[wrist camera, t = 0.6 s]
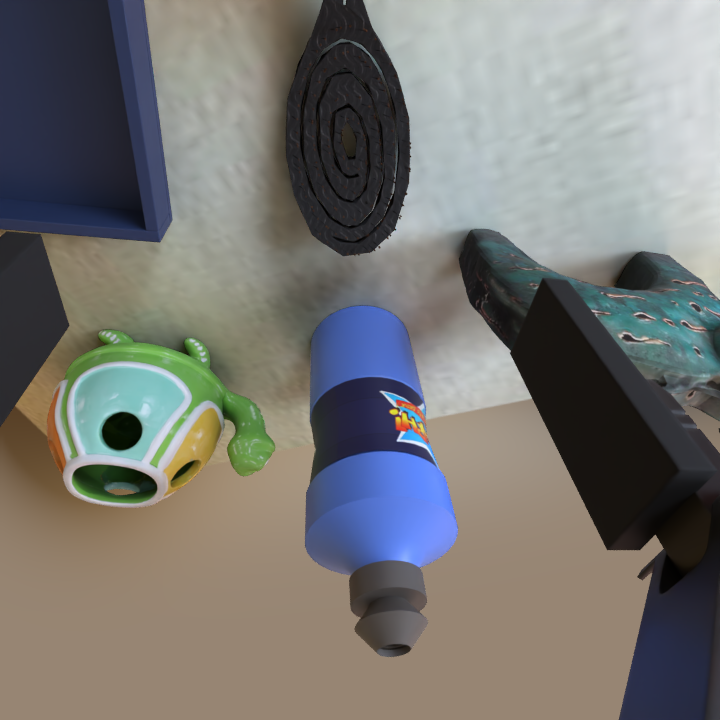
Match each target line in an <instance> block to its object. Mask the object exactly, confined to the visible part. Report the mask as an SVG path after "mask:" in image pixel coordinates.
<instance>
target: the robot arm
mask: <svg viewBox="0 0 720 720" xmlns="http://www.w3.org/2000/svg"><path fill="white" fill-rule="evenodd" d="M68 327H69V323H68V320H67V316H66V313H65V310H64V307H63V304H62V301H61V297H60V294H59V291H58V288H57V285H56V281H55V278H54V275H53V272H52V269H51V265H50V262H49V259H48V256H47V253H46V250H45V246H44V243H43V240H42V237H41V234H30V233H19V232H5V233H4V234H3V235H2V236H1V237H0V426H1V425H2V424H3V422H4V421H5V419H6V418H7V416H8V415H9V414H10V412H11V411H12V409H13V408H14V406H15V405H16V403H17V402H18V400H19V399H20V397H21V396H22V394H23V393H24V392H25V390H26V389H27V387H28V386H29V384H30V383H31V381H32V380H33V378H34V377H35V375H36V374H37V372H38V371H39V370H40V368H41V367H42V365H43V364H44V362H45V361H46V359H47V358H48V356H49V355H50V353H51V352H52V350H53V349H54V348H55V346H56V345H57V343H58V342H59V340H60V339H61V337H62V336H63V334H64V333H65V331H66V330H67V328H68ZM510 354H511V356H512V358H513V360H514V362H515V364H516V366H517V368H518V370H519V372H520V374H521V376H522V378H523V380H524V382H525V384H526V386H527V388H528V390H529V392H530V395H531V397H532V399H533V401H534V403H535V405H536V407H537V409H538V411H539V413H540V415H541V417H542V419H543V421H544V423H545V425H546V427H547V429H548V431H549V433H550V435H551V437H552V439H553V441H554V443H555V445H556V447H557V449H558V451H559V453H560V455H561V457H562V459H563V461H564V463H565V465H566V467H567V470H568V471H569V474H570V476H571V478H572V480H573V482H574V484H575V486H576V487H577V490H578V492H579V494H580V496H581V498H582V500H583V502H584V504H585V506H586V508H587V510H588V512H589V514H590V516H591V518H592V520H593V522H594V524H595V526H596V528H597V530H598V532H599V534H600V536H601V538H602V540H603V542H604V545H605V546H606V548H607V550H640V549H641V548H642V547H643V546H644V545H645V544H646V543H647V542H648V541H649V540H650V539H651V538H652V537H653V536H654V535H655V534H656V536H657V538H658V539H659V541H660V543H661V544H662V546H663V548H664V549H663V550H662V551H661V552H660V553H659V554H658V555H657V556H656V557H655V558H654V559H653V560H652V561H651V562H650V563H648V564H647V565H646V566H645V567H644V568H643V569H642V570H641V572H640V573H639V575H638V578H639V579H641V580H643V579H644V578H645V577H647V576H648V575H649V574H650V573H652V577H651V582H650V586H649V590H648V594H647V599H646V603H645V608H644V612H643V616H642V621H641V625H640V629H639V634H638V638H637V643H636V647H635V651H634V656H633V660H632V664H631V669H630V673H629V677H628V682H627V686H626V691H625V695H624V699H623V704H622V708H621V712H620V717H619V720H720V453H719V452H718V451H717V449H716V448H715V447H714V446H713V445H712V443H711V442H710V441H709V440H708V439H707V437H706V436H705V435H704V434H703V432H702V431H701V430H700V429H697V428H696V426H697V425H696V424H695V423H694V421H693V420H692V419H691V418H690V417H689V415H685V410H684V409H683V408H682V407H681V406H680V404H679V403H678V402H677V401H676V399H675V398H674V397H673V396H672V395H671V394H670V393H669V392H667V391H666V390H665V389H664V388H662V387H661V386H660V385H658V384H657V383H656V382H654V381H653V380H649V379H645V378H644V376H643V375H642V374H641V373H640V371H639V370H638V369H637V367H636V366H635V365H634V364H633V362H632V361H631V360H630V359H629V357H628V356H627V355H626V353H625V352H624V351H623V350H622V348H621V347H620V346H619V345H618V343H617V342H616V341H615V340H614V338H613V337H612V336H611V334H610V333H609V332H608V331H607V329H606V328H605V327H604V326H603V324H602V323H601V322H600V320H599V319H598V318H597V317H596V315H595V314H594V313H593V312H592V310H591V309H590V308H589V307H588V305H587V304H586V303H585V301H584V300H583V299H582V298H581V296H580V295H579V294H578V293H577V291H576V290H575V289H574V287H573V286H572V285H571V284H570V282H569V281H568V280H563V279H551V278H542V280H541V282H540V285H539V287H538V289H537V292H536V294H535V296H534V299H533V301H532V303H531V306H530V308H529V310H528V313H527V315H526V317H525V320H524V322H523V324H522V327H521V329H520V331H519V334H518V336H517V338H516V341H515V343H514V345H513V348H512V350H511V352H510Z"/></svg>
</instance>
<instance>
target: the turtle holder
mask: <svg viewBox="0 0 720 720" xmlns="http://www.w3.org/2000/svg"><path fill="white" fill-rule="evenodd" d="M98 337H99V339H100V340H101V341H102V342H103V343H105V344H106V345H104V346H101V347H98V348H96V349H93V350H91V351H89V352H87V353H85V354H83V355H81V356H79V357H78V358H77V359H76V360H74V361H73V363H72V364H71V365H70V366H69V368H68V370H67V372H66V375H65V378H64V380H62V381H61V382H60V383H59V384H58V385H57V386H56V388H55V390H54V392H53V395H52V403H51V406H50V410H49V414H48V419H47V435H48V443H49V448H50V450H51V453H52V455H53V458H54V460H55V463H56V465H57V467H58V469H59V470H60V472H61V474H62V476H63V480H64V483H65V486H66V488H67V490H68V491H69V492H70V493H71V494H72V495H73V496H75V497H77V498H79V499H81V500H84V501H87V502H90V503H95V504H100V505H106V506H112V507H129V508H137V507H146V506H151V505H154V504H155V503H157V502H159V501H160V500H163V499H165V498H167V497H169V496H170V495H171V494H173V493H174V492H175V491H177V490H178V489H179V488H181V487H183V486H184V485H185V484H187V483H188V482H189V481H191V480H192V479H193V478H194V477H195V476H196V475H197V474H198V473H199V472H200V471H201V469H202V468H203V467H204V466H205V465H206V463H207V462H208V460H209V459H210V457H211V455H212V454H213V452H214V450H215V448H216V446H217V444H218V443H219V441H220V439H221V437H222V434H223V431H224V426H225V424H224V419H227V420H230V421H232V422H233V424H234V425H235V429H236V433H235V435H234V437H233V438H232V439H231V441H230V442H229V444H228V447H227V452H228V455H229V458H230V462H231V464H232V466H233V468H234V469H235V470H236V472H237V473H238V474H239V475H241V476H248V475H251V474H253V473H254V472H255V471H259V470H261V469H262V468H263V467H264V466H265V465H266V464H267V463H268V461H269V458H270V457H271V455H272V453H273V452H274V451H275V444H274V442H273V440H272V439H271V438H270V437H269V436H268V435H267V434H266V431H265V423H264V420H263V416H262V415H261V412H260V410H259V408H258V407H257V405H256V404H255V403H253V402H252V401H251V400H250V399H248V398H246V397H243V396H240V395H237V394H234V393H232V392H230V391H229V390H228V389H227V388H226V387H225V386H224V385H223V383H222V382H221V381H220V380H219V379H218V378H217V376H216V375H215V374H214V373H213V372H212V371H211V370H209V369H210V357H209V352H208V350H207V348H206V346H205V345H204V344H203V343H202V342H200V341H199V340H197V339H194V338H186V339H185V341H184V346H185V349H186V351H187V352H188V355H189V356H188V355H186V354H183V353H181V352H178V351H175V350H173V349H169V348H166V347H163V346H159V345H153V344H148V343H138V342H134V340H133V339H132V338H131V337H129V336H128V335H126V334H125V333H122V332H120V331H116V330H102V331H100V332H99V334H98ZM112 489H126V490H132V491H134V492H136V493H134V494H128V495H115V494H112V493H109V492H107V490H112Z"/></svg>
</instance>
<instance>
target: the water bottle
mask: <svg viewBox="0 0 720 720" xmlns="http://www.w3.org/2000/svg"><path fill="white" fill-rule="evenodd" d="M310 423H311V427H312V433H313V439H314V445H315V453H314V460H313V467H312V473H311V480H310V485H309V487H308V490H307V492H306V525H305V547H306V550H307V552H308V554H309V555H310V557H311V558H312V559H313V560H314V561H315V562H317V563H318V564H319V565H321V566H323V567H325V568H327V569H329V570H331V571H335V572H338V573H341V574H346V575H351V577H350V580H349V586H350V605H351V611H352V612H353V613H354V614H355V615H356V616H358V617H361V619H360V620H359V621H358V623H357V624H356V626H355V632H356V633H357V634H358V635H359V636H360V637H361V638H362V639H363V640H364V641H365V642H366V643H367V644H368V645H369V646H370V647H371V648H373V650H374V651H375V652H377V653H378V654H379V655H381V656H386V657H394V656H400V655H403V654H406V653H408V652H409V651H410V650H411V649H412V647H413V646H414V644H415V643H416V641H417V640H418V638H419V637H420V635H421V634H422V632H423V631H424V629H425V628H426V626H427V624H428V620H427V619H426V617H424V616H423V615H422V614H421V613H420V612H419V611H420V610H422V609H423V608H424V607H425V605H426V603H427V597H426V591H425V585H424V580H423V574H422V571H421V569H420V568H421V567H423V566H425V565H428V564H430V563H431V562H433V561H435V560H436V559H438V558H440V557H441V556H442V555H444V554H445V553H446V552H447V551H448V550H449V549H450V548H451V546H452V545H453V544H454V542H455V540H456V537H457V533H458V526H457V522H456V519H455V514H454V511H453V506H452V502H451V498H450V494H449V490H448V486H447V482H446V479H445V476H444V475H443V474H442V472H441V471H440V470H439V467H438V464H437V462H436V459H435V457H434V454H433V452H432V449H431V446H430V444H429V441H428V439H427V433H426V406H425V402H424V398H423V393H422V389H421V385H420V380H419V376H418V372H417V368H416V364H415V360H414V355H413V351H412V347H411V343H410V339H409V335H408V332H407V329H406V328H405V326H404V324H403V323H402V322H401V321H400V320H399V319H398V318H397V317H396V316H395V315H393V314H392V313H390V312H388V311H386V310H384V309H381V308H377V307H373V306H353V307H348V308H345V309H341V310H339V311H337V312H335V313H333V314H331V315H329V316H328V317H327V318H325V319H324V320H323V321H322V322H321V323H320V324H319V326H318V327H317V328H316V330H315V332H314V334H313V337H312V340H311V370H310Z"/></svg>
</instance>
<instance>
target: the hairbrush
mask: <svg viewBox="0 0 720 720" xmlns="http://www.w3.org/2000/svg"><path fill="white" fill-rule="evenodd" d="M339 39H346V40H350V41H355V42H357V43H359V44H361V45H362V46H363V47H364V48H365V49H366V50H367V51H368V52H369V53H370V54H371V55H372V57H373V58H374V59H375V61H376V62H377V64H378V65H379V67H380V69H381V70H382V73H383V75H384V78H385V81H386V83H387V86H388V88H389V91H390V95H391V99H392V103H393V107H394V111H395V115H396V120H397V131H398V162H397V171H396V181H395V182H394V179H395V177H394V173H395V170H396V169H395V164H396V159H395V158H396V157H395V156H396V155H395V125H394V121H393V116H392V112H391V108H390V104H389V99H388V95H387V91H386V87H385V85H384V83H383V80H382V78H381V76H380V74H379V72H378V70H377V68H376V66H375V64H374V63H373V61H372V60H371V58H370V56H369V55H368V54H367V53H366V52H364V51H363V50H362V49H360V48H359V47H357V46H356V45H354V44H352V43H350V42H344V43H339V44H337V45H335V46H333V47H332V48H331V49H330V50H328V51H327V52H326V53H325V54H323V55H322V56H321V58H320V60H319V62H318V63H317V65H316V67H315V69H314V71H313V73H312V76H311V80H310V83H309V87H308V91H307V95H306V102H305V108H304V123H303V140H304V155H305V160H306V164H307V167H308V171H309V174H310V178H311V181H312V185H313V187H312V185H311V182H310V180H309V177H308V175H307V172H306V170H305V167H304V157H303V146H302V135H301V124H300V116H301V110H302V105H303V100H304V94H305V89H306V84H307V79H308V75H309V73H310V70H311V68H312V67H313V65H314V63H315V61H316V59H317V58H318V56H319V54H320V53H321V52H322V51H323V49H324V48H326V47H328V46H329V45H331V44H332V43H334V42H336V41H338V40H339ZM341 69H348V70H350V71H351V72H339V73H337V74H335V75H333V74H334V73H336V72H338V71H340V70H341ZM352 73H354V74H355V75H356V76H358V77H359V78H360V79H362V80H363V81H364V83H365V84H366V86H367V88H368V90H369V91H370V93H371V95H372V97H373V99H374V102H375V106H376V109H377V112H378V115H379V119H380V130H381V139H380V137H379V132H380V131H379V130H378V125H377V120H376V116H375V111H374V107H373V103H372V99H371V96H370V94H369V93H368V91H367V90H366V88H365V87H364V86H363V85H362V84H361V83H360V81H359V80H358V79H357V78H356V77H355V76H354V75H353V74H352ZM331 75H333V76H332V77H331V79H330V81H329V82H328V84H327V85H326V88H325V90H324V92H323V94H322V98H321V102H320V106H319V130H320V144H321V157H322V160H323V163H324V166H325V169H326V172H327V175H328V177H329V180H330V181H329V180H328V178H327V176H326V175H325V173H324V170H323V167H322V164H321V158H320V151H319V143H318V136H317V129H316V121H317V112H318V103H319V96H320V93H321V90H322V88H323V85H324V83H325V81H326V80H327V79H328V78H329V77H330V76H331ZM344 105H348V106H344ZM342 106H344V107H342ZM340 107H341V108H340ZM351 107H353V108H354V109H355V110H356V111H357V112H358V113H359V114H360V116H361V118H362V120H363V122H364V124H365V127H366V131H367V136H368V142H369V149H370V167H369V176H368V181H367V183H366V185H365V180H366V175H367V173H366V171H367V147H366V139H365V135H364V132H363V127H362V123H361V120H360V117H359V116H358V115H357V113H356V112H355V111H354V110H353V109H352V108H351ZM337 109H338V110H337ZM335 110H337V111H336V113H335V117H334V122H333V143H334V149H335V152H336V156H337V159H338V162H339V165H340V167H341V169H340V167H339V165H338V163H337V161H336V159H335V157H334V155H333V151H332V143H331V135H330V123H331V118H332V114H333V113H334V112H335ZM346 122H348V123H349V124H350V126H351V128H352V129H353V131H354V134H355V137H356V154H355V155H354V157H348V156H347V154H346V152H345V149H344V145H343V142H342V136H343V135H342V131H343V128H344V126H345V124H346ZM381 140H382V144H380V141H381ZM410 144H411V143H410V130H409V116H408V112H407V108H406V105H405V101H404V96H403V93H402V89H401V85H400V82H399V78H398V75H397V72H396V70H395V68H394V66H393V64H392V62H391V59H390V58H389V56H388V54H387V52H386V51H385V49H384V47H383V45H382V43H381V41H380V39H379V38H378V36H377V35H376V33H375V32H374V30H373V28H372V26H371V23H370V20H369V17H368V14H367V11H366V9H365V6H364V3H363V0H346V5H343V0H323V3H322V6H321V10H320V13H319V16H318V18H317V21H316V24H315V27H314V30H313V33H312V35H311V38H310V39H309V41H308V43H307V46H306V48H305V51H304V53H303V55H302V57H301V59H300V61H299V63H298V66H297V70H296V74H295V78H294V81H293V84H292V87H291V89H290V93H289V96H288V102H287V119H286V157H287V162H288V167H289V172H290V177H291V182H292V187H293V192H294V196H295V198H296V201H297V203H298V205H299V207H300V210H301V212H302V214H303V216H304V218H305V220H306V223H307V225H308V227H309V229H310V231H311V233H312V235H313V236H314V237H316V238H317V239H318V240H320V241H321V242H322V243H324V244H325V245H327V246H328V247H330V248H332V249H333V250H335V251H336V252H338V253H339V254H341V255H342V256H349V255H356V254H358V255H359V254H363V253H370V252H372V251H373V250H374V251H376V250H375V248H376V247H377V246H378V245H379V244H380V243H381V242H383V241H384V240H385V239H386V238H387V239H389V238H388V236H389V235H390V234H391V233H392V232H393V231H394V230H395V231H396V229H395V227H396V223H397V220H398V217H399V216H400V217H402V216H401V215H399V214H400V210H401V207H402V206H404V205H403V201H404V197H405V195H407V193H406V191H407V188H408V184H409V172H411V171H410V170H411V169H410V157H411V156H410V149H411V147H410ZM381 145H382V151H383V162H384V173H383V181H382V184H381V171H382V169H381V165H382V163H381V160H380V158H382V156H381V157H380V146H381ZM341 170H342V171H343V172H344V173H346V174H347V175H344V174H343V173H342V171H341ZM354 174H355V175H354ZM352 175H354V176H352ZM330 182H331V183H330ZM393 183H395V190H394V193H393V194H392V189H393ZM380 185H381V188H380ZM364 186H365V188H364V190H363V192H362V193H361V195H360V196H358V194H359V193H360V191H361V190H362V189H363V187H364ZM333 187H334V188H335V190H336V191H337V192H338V193H339V194H340V196H339V195H338V194H337V193H336V191H335V190H334V188H333ZM313 188H314V190H313ZM379 188H380V191H379ZM314 191H315V192H316V194H317V195H318V197H319V198H320V200H321V202H322V203H323V205H324V206H325V207H324V206H323V205H322V204H321V202H320V201H319V200H318V199H317V197H316V195H315V192H314ZM378 191H379V194H378ZM377 195H378V197H377ZM391 195H393V196H392V198H391V199H390V197H391ZM357 196H358V197H357ZM356 197H357V198H356ZM376 197H377V200H376ZM348 199H350V200H348ZM351 200H352V201H351ZM375 200H376V204H375V207H374V209H373V211H372V208H373V205H374V202H375ZM389 200H390V203H389ZM388 203H389V205H388ZM387 206H388V208H387ZM325 208H326V209H325ZM386 208H387V210H386ZM371 211H372V212H371ZM385 211H386V213H385ZM370 212H371V213H370ZM369 213H370V214H369ZM368 214H369V215H368ZM384 214H385V215H384ZM367 215H368V216H367ZM332 216H333V217H334V218H335V219H334V218H333V217H332ZM366 216H367V217H366ZM365 217H366V218H365ZM400 217H399V219H401V218H400ZM364 218H365V219H364ZM382 218H383V219H382ZM336 219H337V220H336ZM363 219H364V220H363ZM381 219H382V220H381ZM362 220H363V221H362ZM380 220H381V221H380ZM361 221H362V222H361ZM379 221H380V222H379ZM360 222H361V223H360ZM347 225H350V226H347ZM372 229H373V230H372ZM371 230H372V231H371ZM390 237H391V235H390ZM379 248H380V246H379Z"/></svg>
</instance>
